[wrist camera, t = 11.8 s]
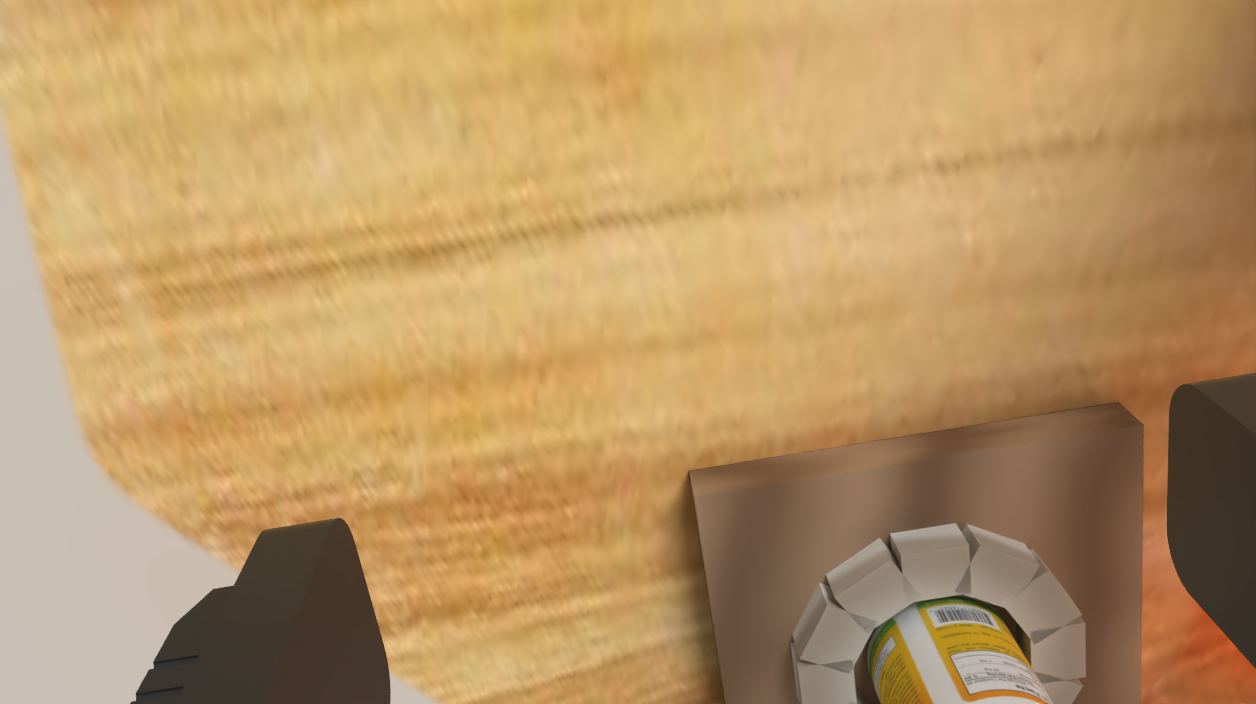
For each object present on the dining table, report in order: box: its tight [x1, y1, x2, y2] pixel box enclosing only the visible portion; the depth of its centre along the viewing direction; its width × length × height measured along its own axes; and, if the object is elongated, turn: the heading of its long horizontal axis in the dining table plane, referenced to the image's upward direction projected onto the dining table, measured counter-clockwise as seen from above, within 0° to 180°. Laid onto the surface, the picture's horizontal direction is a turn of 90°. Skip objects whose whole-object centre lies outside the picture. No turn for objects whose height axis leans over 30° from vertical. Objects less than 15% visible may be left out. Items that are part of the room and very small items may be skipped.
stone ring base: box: [689, 402, 1144, 704], centre depth 44 cm, size 16×16×4 cm
